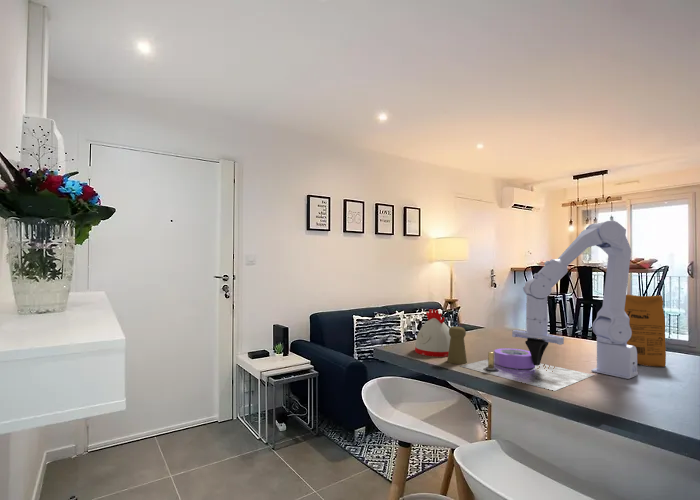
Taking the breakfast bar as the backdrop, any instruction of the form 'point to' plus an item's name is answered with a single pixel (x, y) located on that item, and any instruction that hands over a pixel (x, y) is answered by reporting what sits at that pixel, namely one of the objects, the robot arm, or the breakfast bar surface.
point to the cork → (457, 346)
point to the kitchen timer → (433, 336)
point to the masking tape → (513, 358)
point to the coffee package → (647, 329)
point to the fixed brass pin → (491, 362)
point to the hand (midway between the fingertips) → (536, 364)
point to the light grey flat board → (534, 375)
